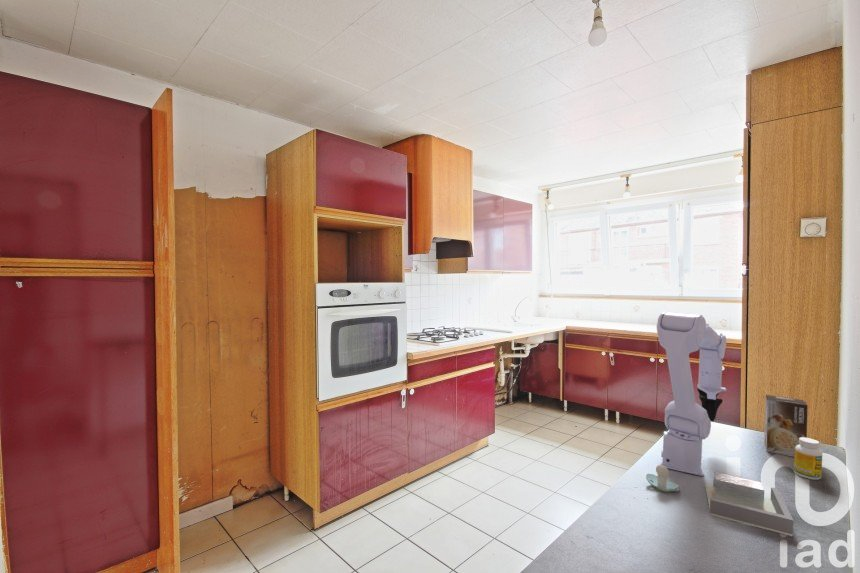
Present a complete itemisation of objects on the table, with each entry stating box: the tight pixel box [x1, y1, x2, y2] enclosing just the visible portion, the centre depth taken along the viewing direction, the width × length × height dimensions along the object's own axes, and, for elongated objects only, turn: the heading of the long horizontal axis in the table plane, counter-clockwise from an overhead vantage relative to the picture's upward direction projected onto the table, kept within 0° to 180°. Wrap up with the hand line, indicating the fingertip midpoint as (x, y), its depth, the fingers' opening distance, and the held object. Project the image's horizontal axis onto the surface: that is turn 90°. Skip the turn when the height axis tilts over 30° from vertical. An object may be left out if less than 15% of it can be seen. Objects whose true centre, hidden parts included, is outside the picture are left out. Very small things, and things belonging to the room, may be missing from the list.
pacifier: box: [645, 464, 680, 493], centre depth 102 cm, size 7×6×6 cm
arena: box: [704, 484, 794, 537], centre depth 93 cm, size 14×14×3 cm
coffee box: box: [763, 394, 809, 458], centre depth 122 cm, size 9×6×16 cm
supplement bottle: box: [793, 437, 823, 481], centre depth 108 cm, size 5×5×10 cm
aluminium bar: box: [712, 471, 765, 510], centre depth 95 cm, size 9×4×5 cm, turn 60°
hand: (708, 416), depth 123 cm, fingers open, 7 cm apart
